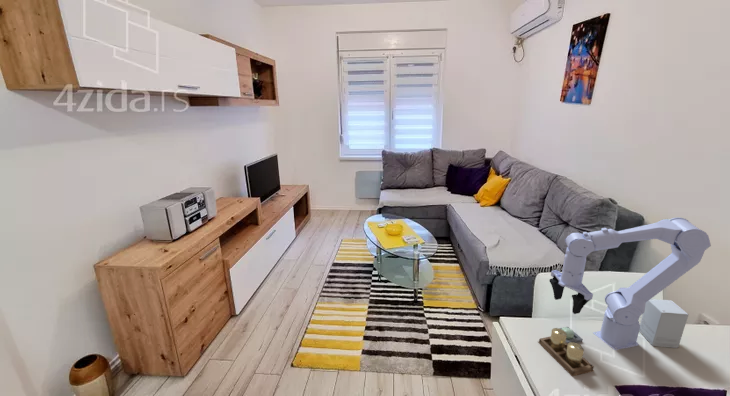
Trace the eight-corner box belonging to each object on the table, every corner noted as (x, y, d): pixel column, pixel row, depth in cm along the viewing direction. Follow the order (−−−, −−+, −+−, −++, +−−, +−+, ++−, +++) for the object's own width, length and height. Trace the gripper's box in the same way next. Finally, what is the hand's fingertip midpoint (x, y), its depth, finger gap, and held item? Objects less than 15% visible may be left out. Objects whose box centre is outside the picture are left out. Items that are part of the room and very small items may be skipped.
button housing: (567, 330, 108) (567, 326, 108) (581, 342, 103) (582, 339, 102) (551, 333, 107) (552, 329, 107) (566, 346, 101) (566, 342, 101)
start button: (567, 331, 107) (568, 326, 106) (576, 338, 103) (577, 333, 103) (557, 333, 106) (558, 328, 105) (566, 341, 103) (567, 336, 102)
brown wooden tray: (557, 338, 105) (558, 334, 104) (594, 372, 92) (595, 367, 91) (537, 343, 103) (537, 338, 103) (571, 378, 90) (572, 372, 90)
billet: (583, 366, 93) (587, 350, 91) (574, 370, 92) (577, 354, 90) (571, 356, 97) (574, 340, 95) (561, 360, 95) (564, 344, 94)
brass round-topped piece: (557, 342, 102) (559, 327, 101) (567, 351, 99) (570, 335, 97) (546, 344, 102) (548, 329, 100) (555, 354, 98) (558, 338, 96)
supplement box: (679, 348, 99) (690, 314, 95) (651, 346, 100) (661, 312, 96) (663, 332, 106) (672, 299, 102) (637, 329, 107) (646, 297, 103)
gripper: (545, 260, 107) (540, 294, 111) (581, 283, 94) (574, 321, 98) (563, 257, 108) (557, 291, 113) (601, 280, 95) (593, 318, 99)
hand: (566, 305), depth 105 cm, fingers open, 7 cm apart
